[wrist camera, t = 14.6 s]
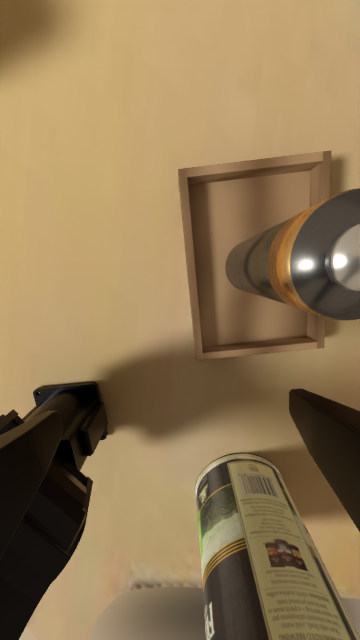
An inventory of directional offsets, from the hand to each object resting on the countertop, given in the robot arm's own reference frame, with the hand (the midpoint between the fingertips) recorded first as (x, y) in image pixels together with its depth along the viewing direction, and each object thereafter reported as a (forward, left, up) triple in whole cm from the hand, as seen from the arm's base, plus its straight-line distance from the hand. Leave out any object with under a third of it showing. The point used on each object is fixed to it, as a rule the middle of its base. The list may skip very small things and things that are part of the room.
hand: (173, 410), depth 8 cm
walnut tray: (+7, +5, -13) cm, 16 cm away
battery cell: (+7, +5, -12) cm, 15 cm away
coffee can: (+5, -20, -13) cm, 24 cm away
